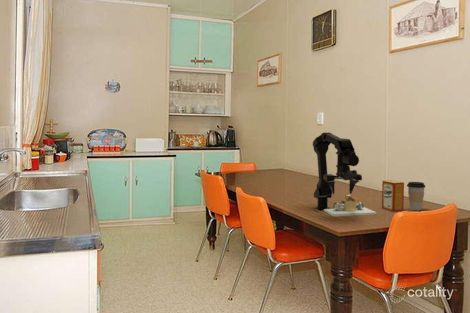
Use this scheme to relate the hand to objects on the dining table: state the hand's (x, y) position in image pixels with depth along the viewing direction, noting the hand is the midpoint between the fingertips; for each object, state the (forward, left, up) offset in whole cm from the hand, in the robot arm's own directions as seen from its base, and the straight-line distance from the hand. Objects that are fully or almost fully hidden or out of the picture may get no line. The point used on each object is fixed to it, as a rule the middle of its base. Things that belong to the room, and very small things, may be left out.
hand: (342, 193), depth 208 cm
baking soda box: (-11, +35, -12) cm, 39 cm away
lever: (-5, +8, -5) cm, 11 cm away
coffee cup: (-8, +47, -12) cm, 49 cm away
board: (-8, +8, -12) cm, 16 cm away
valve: (-9, +8, -11) cm, 16 cm away
